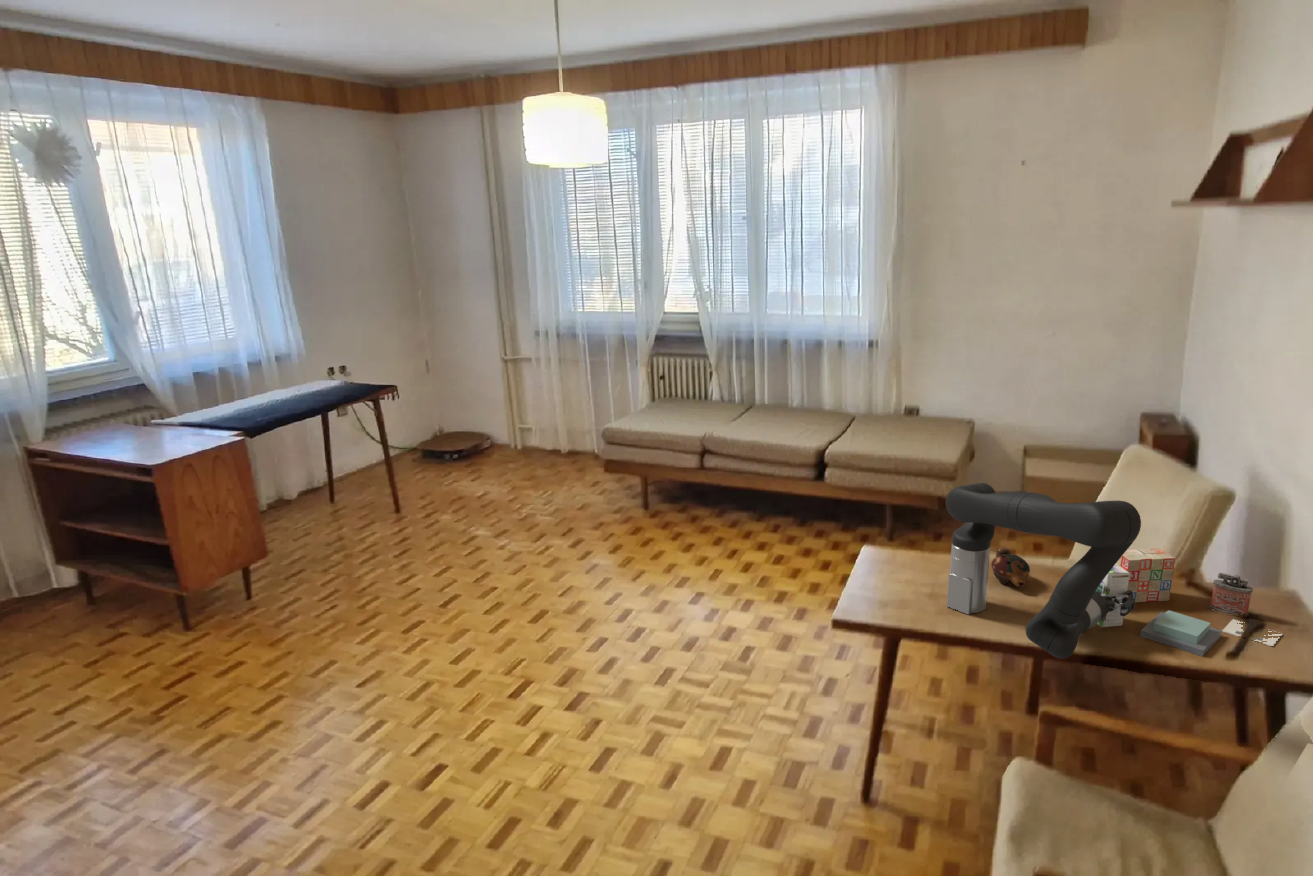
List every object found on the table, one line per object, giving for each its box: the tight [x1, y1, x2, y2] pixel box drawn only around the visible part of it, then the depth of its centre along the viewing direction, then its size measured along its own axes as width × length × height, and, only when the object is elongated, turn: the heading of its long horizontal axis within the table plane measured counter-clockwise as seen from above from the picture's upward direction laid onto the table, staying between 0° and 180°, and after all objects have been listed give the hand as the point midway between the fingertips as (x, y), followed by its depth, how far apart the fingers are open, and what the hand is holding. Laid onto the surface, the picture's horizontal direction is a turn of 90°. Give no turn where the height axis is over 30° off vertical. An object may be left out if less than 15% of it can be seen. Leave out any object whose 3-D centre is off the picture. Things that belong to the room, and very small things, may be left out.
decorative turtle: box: [991, 546, 1031, 588], centre depth 223 cm, size 10×15×8 cm, turn 5°
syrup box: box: [1096, 564, 1130, 628], centre depth 199 cm, size 6×6×14 cm
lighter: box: [1209, 572, 1254, 615], centre depth 201 cm, size 8×3×10 cm, turn 47°
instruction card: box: [1222, 618, 1283, 647], centre depth 193 cm, size 8×10×1 cm
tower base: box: [1139, 609, 1223, 657], centre depth 192 cm, size 13×13×4 cm
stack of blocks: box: [1116, 548, 1176, 603], centre depth 211 cm, size 21×6×12 cm, turn 93°
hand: (1112, 588), depth 200 cm, fingers closed on syrup box, 7 cm apart
